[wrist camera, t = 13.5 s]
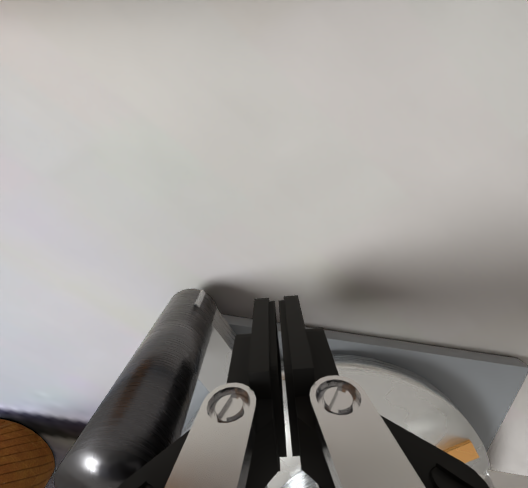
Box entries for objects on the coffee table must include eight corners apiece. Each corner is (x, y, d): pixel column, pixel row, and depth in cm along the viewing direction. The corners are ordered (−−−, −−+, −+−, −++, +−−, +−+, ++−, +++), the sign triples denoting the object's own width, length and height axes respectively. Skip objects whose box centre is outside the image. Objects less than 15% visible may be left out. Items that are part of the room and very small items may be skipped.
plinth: (517, 358, 16) (530, 368, 15) (412, 566, 21) (418, 581, 21) (185, 309, 15) (181, 316, 14) (162, 539, 20) (158, 553, 20)
